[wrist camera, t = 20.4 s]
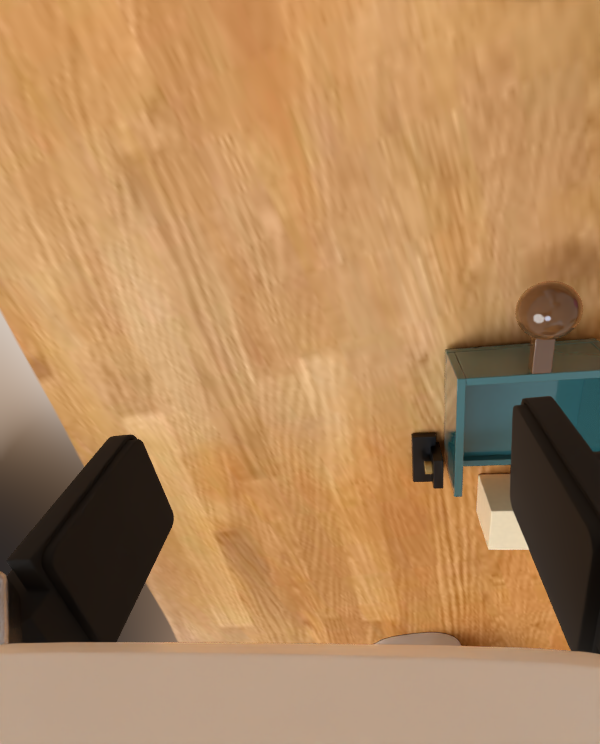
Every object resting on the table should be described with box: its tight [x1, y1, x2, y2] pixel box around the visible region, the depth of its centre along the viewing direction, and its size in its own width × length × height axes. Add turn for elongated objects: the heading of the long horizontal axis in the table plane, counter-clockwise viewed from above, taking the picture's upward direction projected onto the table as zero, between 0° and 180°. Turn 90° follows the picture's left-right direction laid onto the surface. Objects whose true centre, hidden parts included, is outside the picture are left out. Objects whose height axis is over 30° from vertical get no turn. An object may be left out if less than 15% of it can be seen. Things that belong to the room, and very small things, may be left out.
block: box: [476, 474, 529, 550], centre depth 38 cm, size 4×4×4 cm
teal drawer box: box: [444, 281, 600, 497], centre depth 31 cm, size 17×11×6 cm, turn 8°
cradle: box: [412, 433, 443, 488], centre depth 37 cm, size 5×16×3 cm, turn 98°
